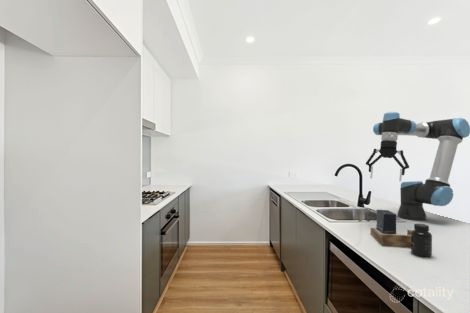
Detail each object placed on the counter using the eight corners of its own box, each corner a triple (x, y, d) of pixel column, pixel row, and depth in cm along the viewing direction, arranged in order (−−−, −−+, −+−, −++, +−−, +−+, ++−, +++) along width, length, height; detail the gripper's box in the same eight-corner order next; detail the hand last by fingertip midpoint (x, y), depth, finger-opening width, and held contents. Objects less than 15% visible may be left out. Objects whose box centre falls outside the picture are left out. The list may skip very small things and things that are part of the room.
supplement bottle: (407, 252, 105) (406, 223, 105) (418, 250, 107) (418, 221, 107) (424, 259, 98) (424, 228, 98) (436, 256, 101) (436, 226, 101)
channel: (410, 236, 126) (410, 226, 126) (428, 249, 109) (428, 237, 109) (370, 233, 130) (370, 224, 130) (382, 245, 113) (382, 234, 113)
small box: (397, 235, 128) (397, 214, 128) (382, 234, 129) (382, 213, 129) (389, 229, 138) (388, 209, 138) (375, 228, 140) (375, 209, 140)
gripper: (363, 138, 142) (359, 176, 141) (417, 141, 130) (413, 182, 129) (363, 140, 149) (360, 177, 148) (416, 143, 136) (412, 182, 135)
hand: (385, 179), depth 138 cm, fingers open, 13 cm apart
